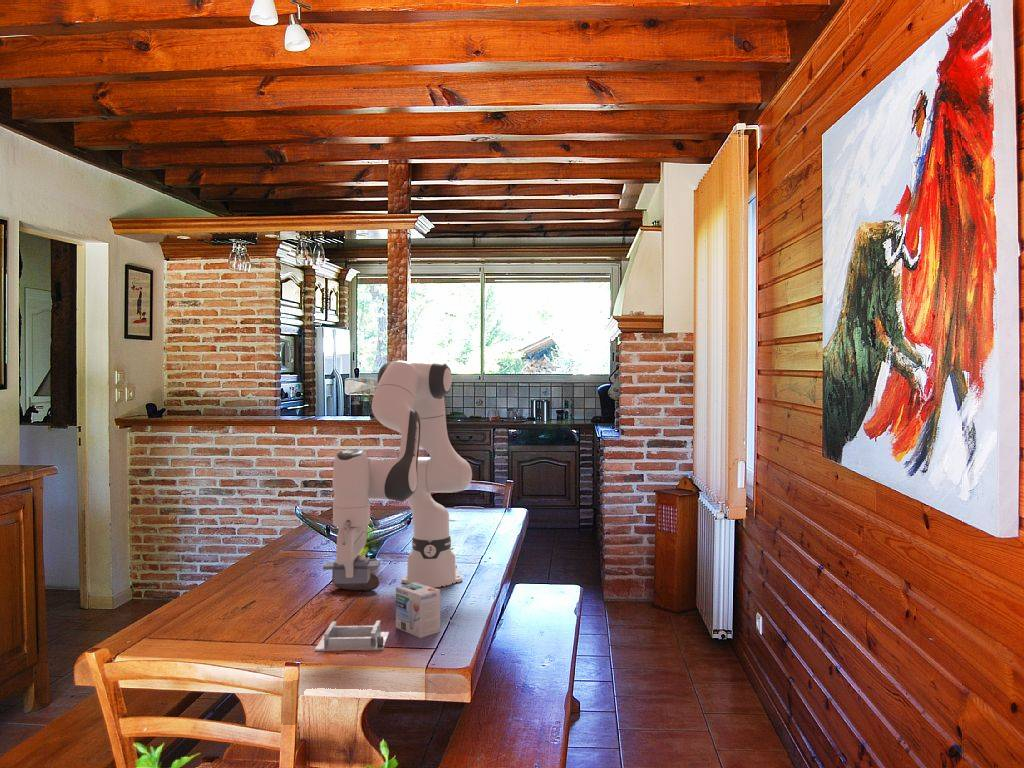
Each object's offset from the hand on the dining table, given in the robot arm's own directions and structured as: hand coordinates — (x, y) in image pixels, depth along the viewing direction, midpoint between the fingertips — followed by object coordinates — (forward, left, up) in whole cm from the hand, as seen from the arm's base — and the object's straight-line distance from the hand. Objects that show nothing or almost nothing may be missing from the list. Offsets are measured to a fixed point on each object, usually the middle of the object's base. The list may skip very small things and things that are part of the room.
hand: (352, 573), depth 184 cm
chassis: (0, 0, -17) cm, 17 cm away
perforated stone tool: (-44, -7, -17) cm, 48 cm away
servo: (0, 0, -2) cm, 2 cm away
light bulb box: (-8, +15, -17) cm, 24 cm away
